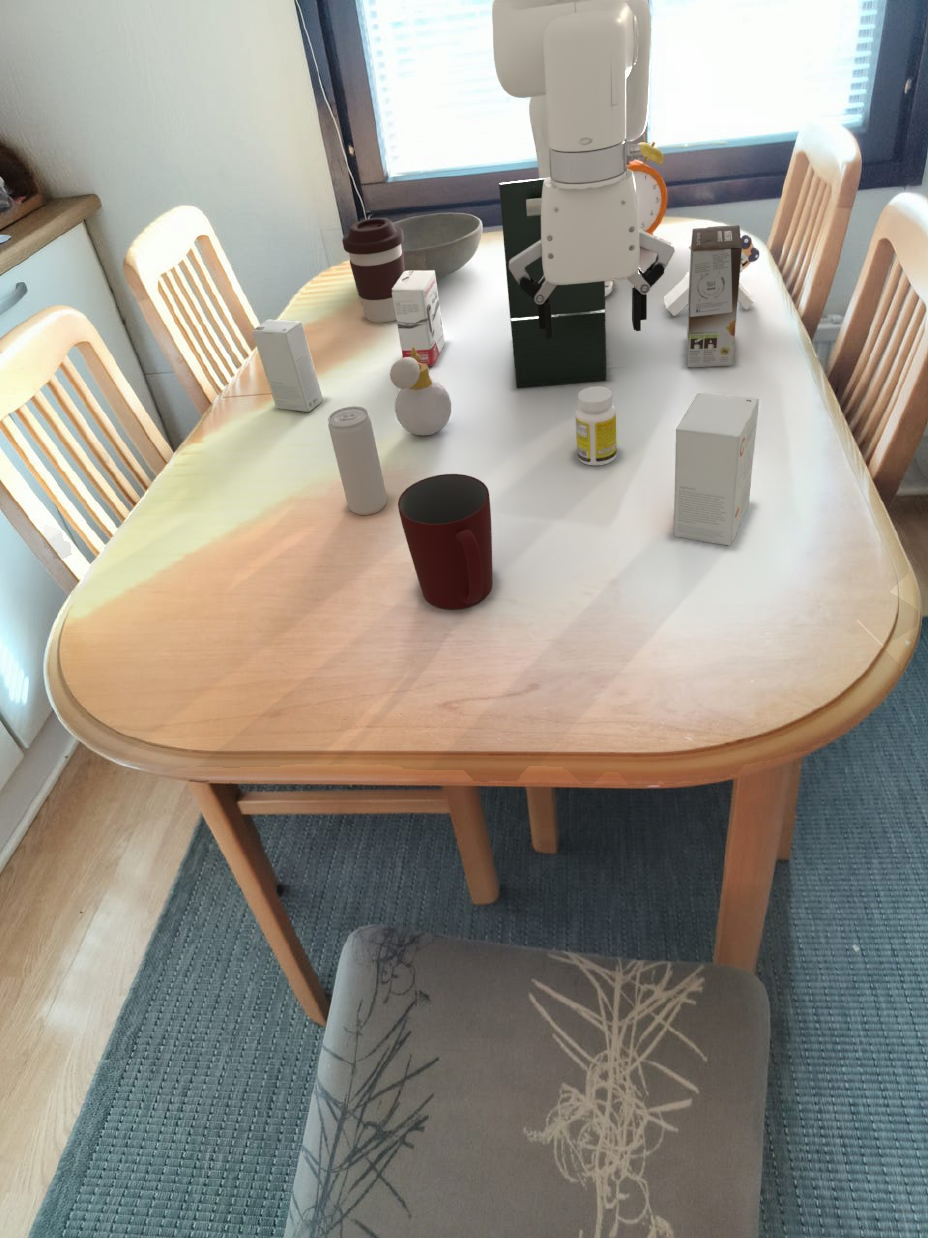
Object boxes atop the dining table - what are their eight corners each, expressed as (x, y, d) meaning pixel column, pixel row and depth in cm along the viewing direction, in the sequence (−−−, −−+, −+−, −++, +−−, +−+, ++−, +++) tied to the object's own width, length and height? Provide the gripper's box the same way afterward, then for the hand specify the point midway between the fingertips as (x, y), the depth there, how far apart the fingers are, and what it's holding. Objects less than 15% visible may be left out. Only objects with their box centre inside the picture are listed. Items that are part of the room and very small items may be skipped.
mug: (525, 615, 88) (516, 523, 81) (442, 644, 86) (425, 552, 79) (481, 552, 97) (469, 464, 90) (404, 577, 95) (386, 490, 88)
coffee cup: (348, 325, 150) (329, 234, 141) (374, 302, 157) (357, 214, 148) (400, 328, 147) (384, 234, 137) (424, 304, 154) (410, 213, 144)
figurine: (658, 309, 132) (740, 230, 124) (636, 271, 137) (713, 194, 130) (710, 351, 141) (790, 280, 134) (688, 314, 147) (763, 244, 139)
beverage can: (348, 498, 108) (327, 409, 101) (387, 492, 108) (369, 402, 101) (348, 519, 105) (325, 429, 97) (388, 513, 105) (369, 422, 97)
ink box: (434, 367, 134) (422, 289, 126) (403, 368, 135) (389, 291, 127) (446, 342, 140) (435, 267, 133) (416, 343, 141) (404, 269, 134)
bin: (518, 342, 137) (512, 278, 131) (600, 334, 136) (599, 270, 129) (516, 388, 125) (510, 321, 119) (606, 380, 124) (605, 312, 117)
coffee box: (733, 366, 122) (743, 247, 112) (686, 368, 124) (691, 250, 113) (731, 338, 129) (740, 223, 119) (685, 340, 130) (691, 226, 120)
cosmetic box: (324, 399, 130) (305, 319, 122) (307, 414, 127) (286, 333, 119) (290, 395, 132) (269, 316, 125) (273, 409, 130) (250, 329, 122)
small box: (692, 496, 100) (698, 390, 91) (750, 505, 97) (761, 396, 89) (671, 537, 95) (674, 428, 86) (730, 547, 92) (740, 436, 84)
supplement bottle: (620, 447, 110) (619, 385, 104) (612, 468, 106) (611, 404, 101) (582, 445, 111) (579, 383, 106) (573, 465, 108) (570, 402, 103)
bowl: (445, 301, 154) (439, 254, 148) (351, 290, 163) (342, 245, 158) (506, 258, 166) (502, 213, 161) (415, 250, 176) (409, 207, 171)
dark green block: (499, 183, 110) (497, 190, 106) (601, 171, 108) (604, 178, 104) (510, 316, 119) (509, 328, 115) (605, 307, 117) (607, 319, 113)
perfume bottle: (450, 412, 122) (438, 328, 114) (460, 446, 115) (448, 359, 107) (397, 422, 122) (381, 338, 114) (403, 456, 115) (386, 370, 107)
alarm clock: (598, 260, 160) (595, 137, 147) (587, 250, 164) (583, 130, 151) (667, 245, 161) (671, 123, 148) (654, 236, 166) (656, 116, 153)
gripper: (672, 143, 90) (667, 310, 100) (501, 163, 92) (515, 324, 103) (681, 162, 84) (675, 336, 95) (499, 183, 86) (514, 351, 97)
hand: (592, 330), depth 99 cm, fingers open, 9 cm apart
